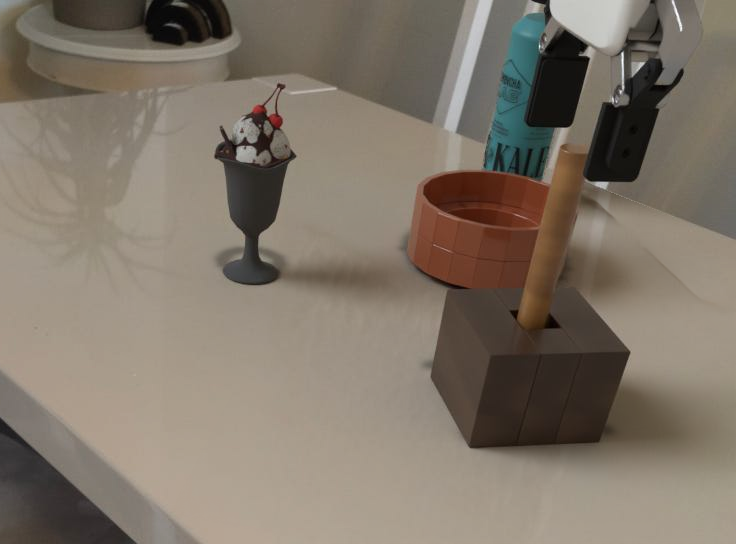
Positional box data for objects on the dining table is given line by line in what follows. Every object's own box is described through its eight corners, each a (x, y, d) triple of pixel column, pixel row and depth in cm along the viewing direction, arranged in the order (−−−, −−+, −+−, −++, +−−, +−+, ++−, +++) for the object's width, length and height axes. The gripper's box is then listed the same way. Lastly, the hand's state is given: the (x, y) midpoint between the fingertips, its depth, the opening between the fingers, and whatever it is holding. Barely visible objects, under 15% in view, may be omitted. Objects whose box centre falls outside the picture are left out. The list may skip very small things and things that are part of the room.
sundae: (301, 269, 88) (316, 83, 77) (263, 295, 83) (274, 103, 73) (238, 250, 90) (245, 68, 79) (198, 275, 86) (200, 86, 75)
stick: (495, 398, 73) (560, 141, 61) (522, 402, 73) (593, 145, 60) (493, 411, 72) (559, 151, 59) (521, 416, 71) (593, 155, 59)
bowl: (528, 233, 97) (543, 169, 92) (583, 297, 87) (603, 229, 82) (389, 234, 95) (399, 169, 90) (430, 300, 85) (443, 230, 80)
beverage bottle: (502, 183, 106) (550, -36, 92) (551, 203, 103) (608, -22, 89) (462, 195, 103) (506, -31, 89) (511, 215, 100) (564, -16, 86)
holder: (549, 373, 76) (574, 286, 71) (599, 442, 69) (631, 351, 65) (429, 376, 75) (446, 289, 70) (468, 447, 68) (490, 355, 63)
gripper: (848, -201, 42) (699, 205, 54) (668, -226, 54) (578, 109, 66) (689, -214, 41) (572, 204, 53) (542, -237, 53) (473, 107, 65)
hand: (576, 151), depth 60 cm, fingers open, 9 cm apart
